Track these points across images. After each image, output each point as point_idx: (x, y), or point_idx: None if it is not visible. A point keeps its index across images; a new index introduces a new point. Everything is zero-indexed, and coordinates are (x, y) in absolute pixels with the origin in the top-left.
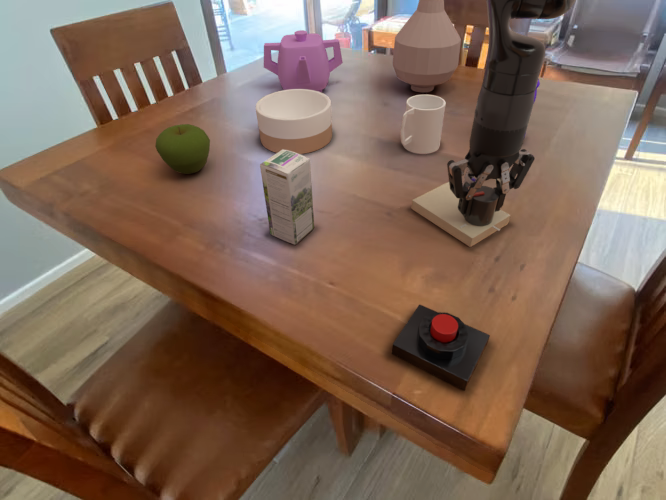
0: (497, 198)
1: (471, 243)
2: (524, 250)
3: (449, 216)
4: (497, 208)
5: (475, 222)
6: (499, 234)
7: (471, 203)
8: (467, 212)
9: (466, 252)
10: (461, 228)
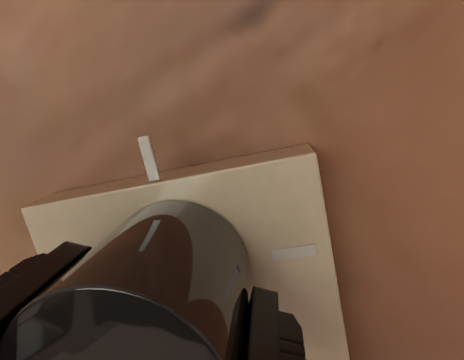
0: (45, 296)
1: (308, 146)
2: (94, 9)
3: None
4: (71, 253)
5: (232, 236)
6: (130, 155)
7: (251, 355)
8: (270, 307)
9: (348, 122)
10: (312, 242)
